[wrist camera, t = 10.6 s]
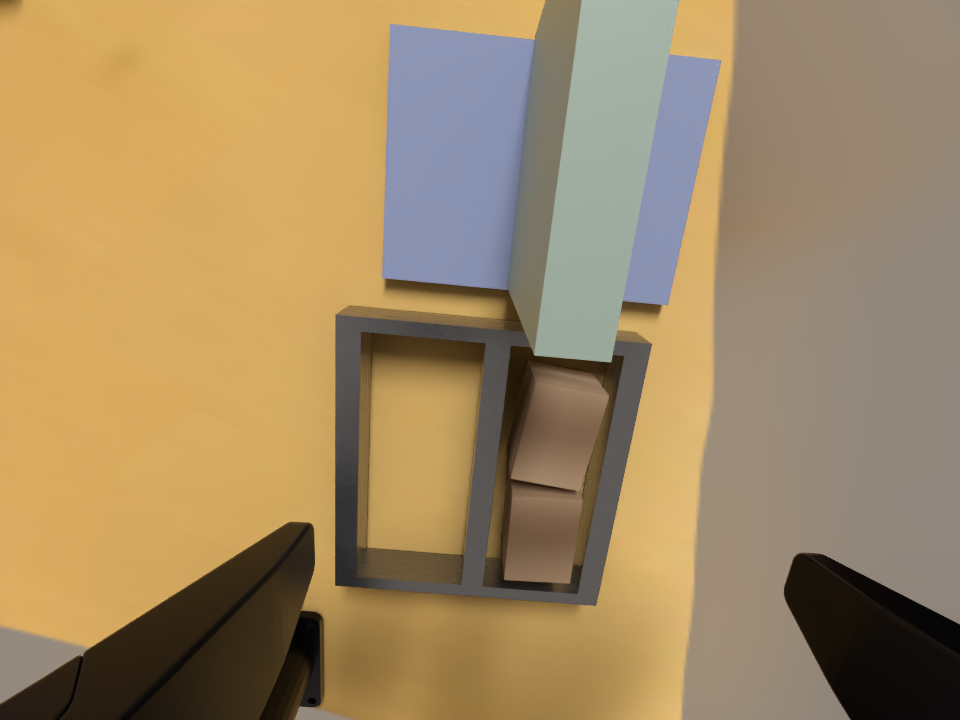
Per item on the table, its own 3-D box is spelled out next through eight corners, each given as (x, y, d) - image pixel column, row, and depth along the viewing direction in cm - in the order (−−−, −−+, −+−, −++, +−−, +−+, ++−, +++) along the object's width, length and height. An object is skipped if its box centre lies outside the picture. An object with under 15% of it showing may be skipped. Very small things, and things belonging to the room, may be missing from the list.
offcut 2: (559, 539, 23) (569, 583, 21) (501, 535, 23) (504, 580, 21) (569, 463, 22) (582, 500, 19) (508, 460, 22) (512, 496, 19)
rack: (586, 574, 24) (596, 605, 22) (347, 555, 24) (335, 585, 22) (635, 332, 20) (651, 343, 18) (349, 305, 20) (335, 314, 18)
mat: (662, 303, 20) (668, 305, 19) (385, 276, 19) (382, 278, 19) (713, 65, 17) (721, 60, 16) (393, 30, 17) (390, 24, 16)
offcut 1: (566, 456, 22) (579, 491, 19) (506, 444, 22) (510, 478, 19) (591, 371, 21) (609, 396, 18) (527, 359, 21) (535, 381, 18)
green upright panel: (545, 290, 19) (611, 362, 9) (507, 287, 19) (534, 355, 9) (579, 40, 16) (720, -216, 7) (535, 35, 16) (612, -230, 7)
